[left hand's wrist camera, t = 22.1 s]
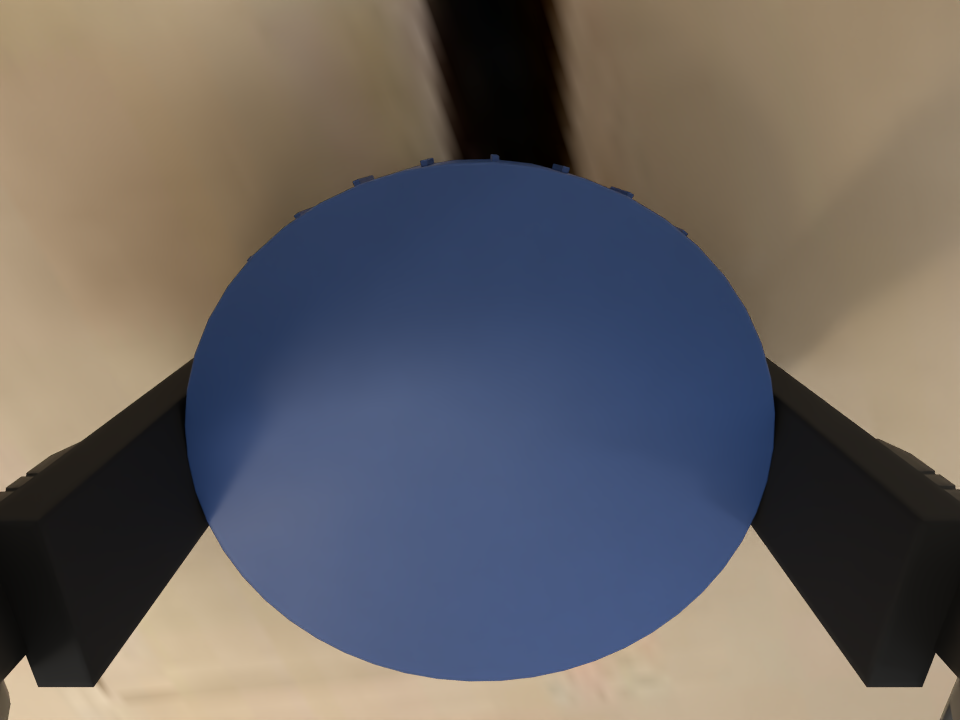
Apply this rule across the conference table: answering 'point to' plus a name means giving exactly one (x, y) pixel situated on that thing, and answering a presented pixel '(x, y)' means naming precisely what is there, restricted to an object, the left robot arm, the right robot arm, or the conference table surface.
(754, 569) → the conference table surface
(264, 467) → the lid
